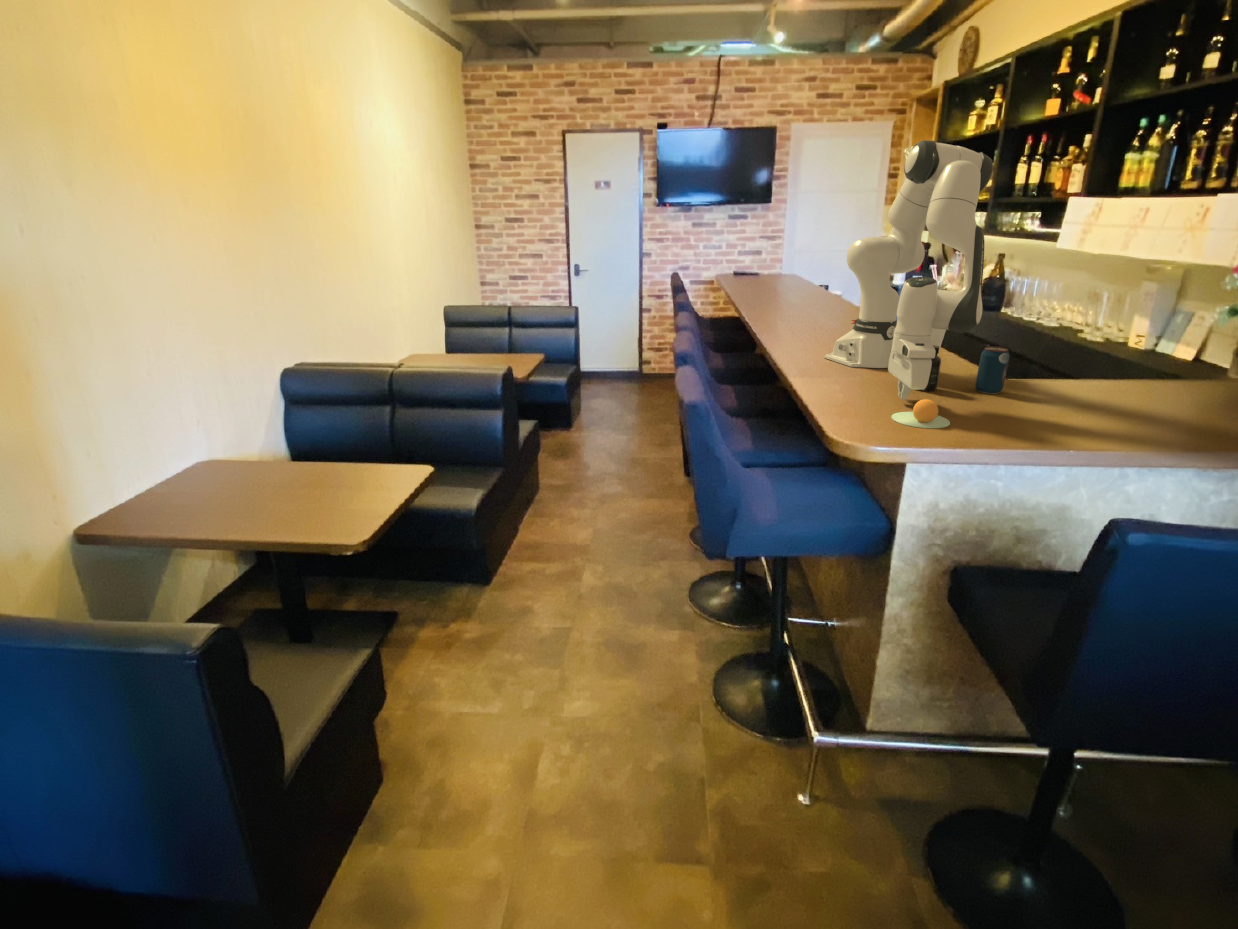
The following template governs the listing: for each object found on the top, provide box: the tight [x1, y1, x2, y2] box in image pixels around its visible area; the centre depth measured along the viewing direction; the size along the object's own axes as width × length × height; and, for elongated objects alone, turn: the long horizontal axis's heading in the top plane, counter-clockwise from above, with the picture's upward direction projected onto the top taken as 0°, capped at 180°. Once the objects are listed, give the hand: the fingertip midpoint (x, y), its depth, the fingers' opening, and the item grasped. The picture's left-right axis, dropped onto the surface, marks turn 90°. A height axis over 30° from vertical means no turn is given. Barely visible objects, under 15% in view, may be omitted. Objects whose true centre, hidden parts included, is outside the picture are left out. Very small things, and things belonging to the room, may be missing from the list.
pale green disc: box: [890, 411, 951, 429], centre depth 166 cm, size 13×13×1 cm
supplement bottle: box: [917, 345, 942, 392], centre depth 192 cm, size 7×7×12 cm
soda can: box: [974, 345, 1011, 395], centre depth 190 cm, size 7×7×12 cm
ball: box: [912, 398, 939, 423], centre depth 164 cm, size 6×6×6 cm
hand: (902, 398), depth 179 cm, fingers closed
